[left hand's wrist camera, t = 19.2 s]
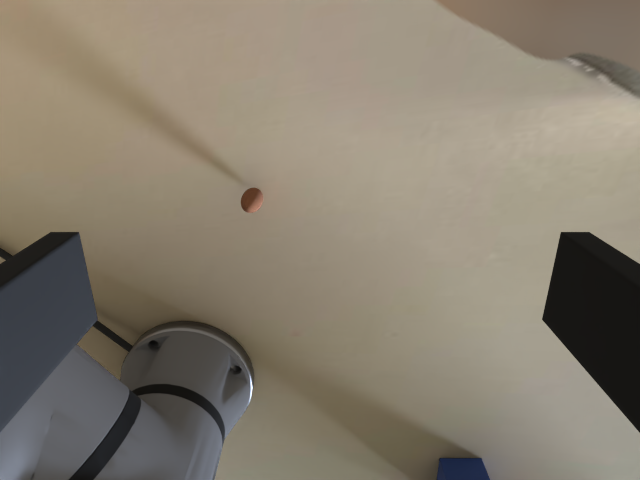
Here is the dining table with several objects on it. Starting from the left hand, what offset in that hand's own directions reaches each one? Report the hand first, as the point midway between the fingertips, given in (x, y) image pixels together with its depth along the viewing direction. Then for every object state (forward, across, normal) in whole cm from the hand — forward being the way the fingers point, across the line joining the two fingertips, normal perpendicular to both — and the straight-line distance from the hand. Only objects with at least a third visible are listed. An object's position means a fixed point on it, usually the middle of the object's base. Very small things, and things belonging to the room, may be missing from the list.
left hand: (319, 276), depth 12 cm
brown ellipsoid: (+33, -6, -7) cm, 34 cm away
